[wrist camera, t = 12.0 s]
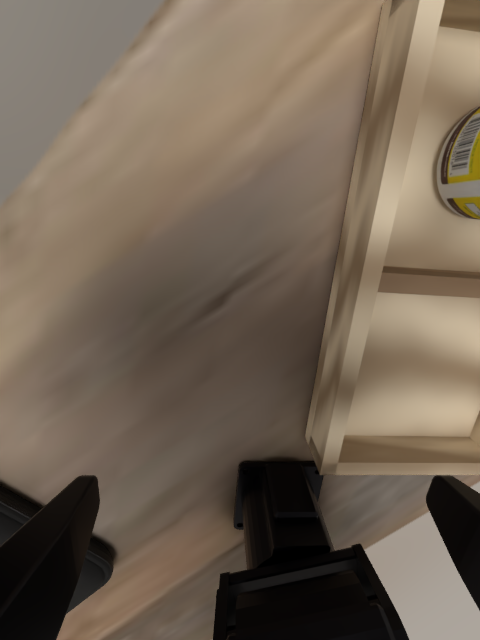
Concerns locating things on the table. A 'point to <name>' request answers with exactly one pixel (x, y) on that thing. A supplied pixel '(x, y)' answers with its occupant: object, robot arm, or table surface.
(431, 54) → the wooden divided tray
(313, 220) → the table surface
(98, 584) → the carrying case or bag
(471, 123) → the supplement bottle
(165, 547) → the table surface
